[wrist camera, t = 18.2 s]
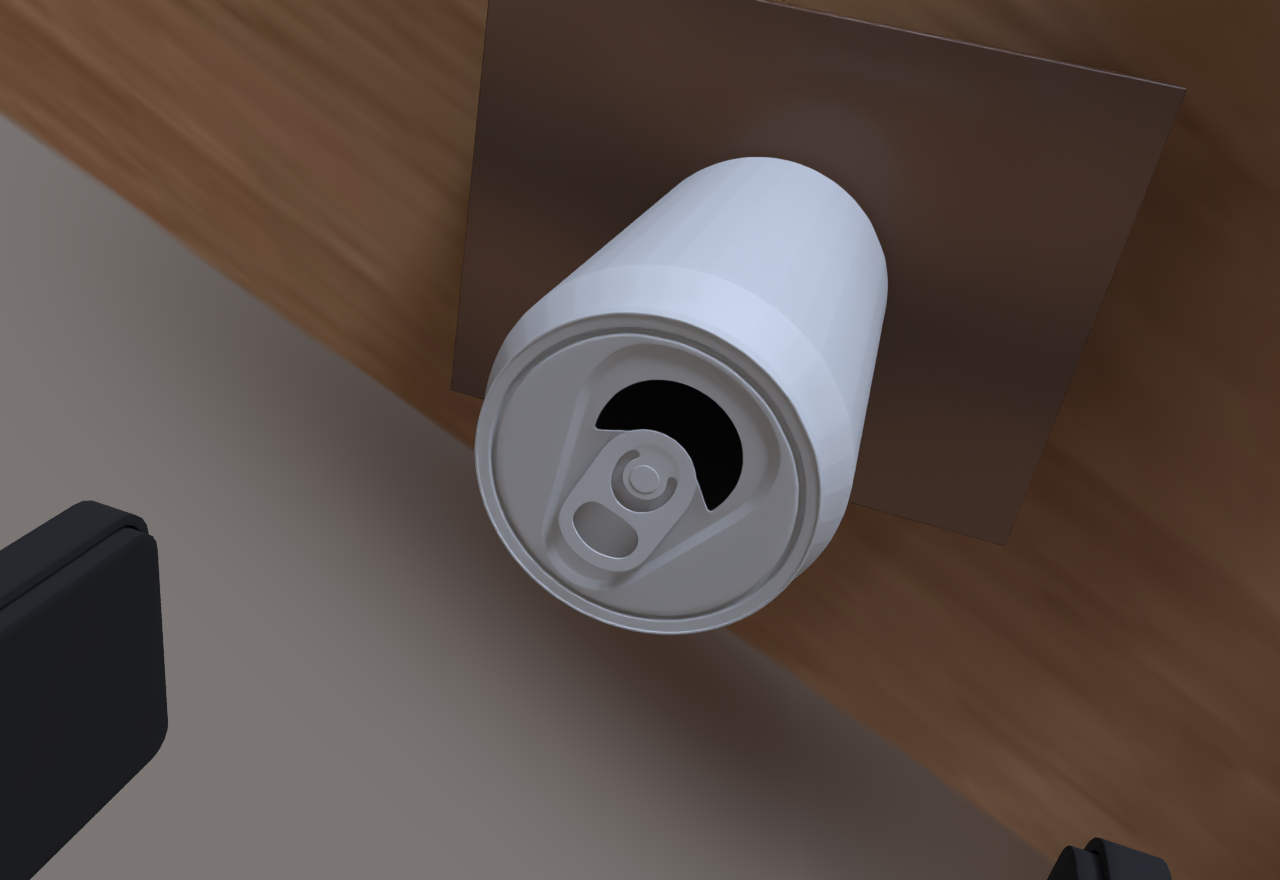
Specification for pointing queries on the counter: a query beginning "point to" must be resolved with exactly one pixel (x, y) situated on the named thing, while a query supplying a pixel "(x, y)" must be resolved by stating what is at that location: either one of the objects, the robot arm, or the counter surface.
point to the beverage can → (690, 402)
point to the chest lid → (861, 165)
